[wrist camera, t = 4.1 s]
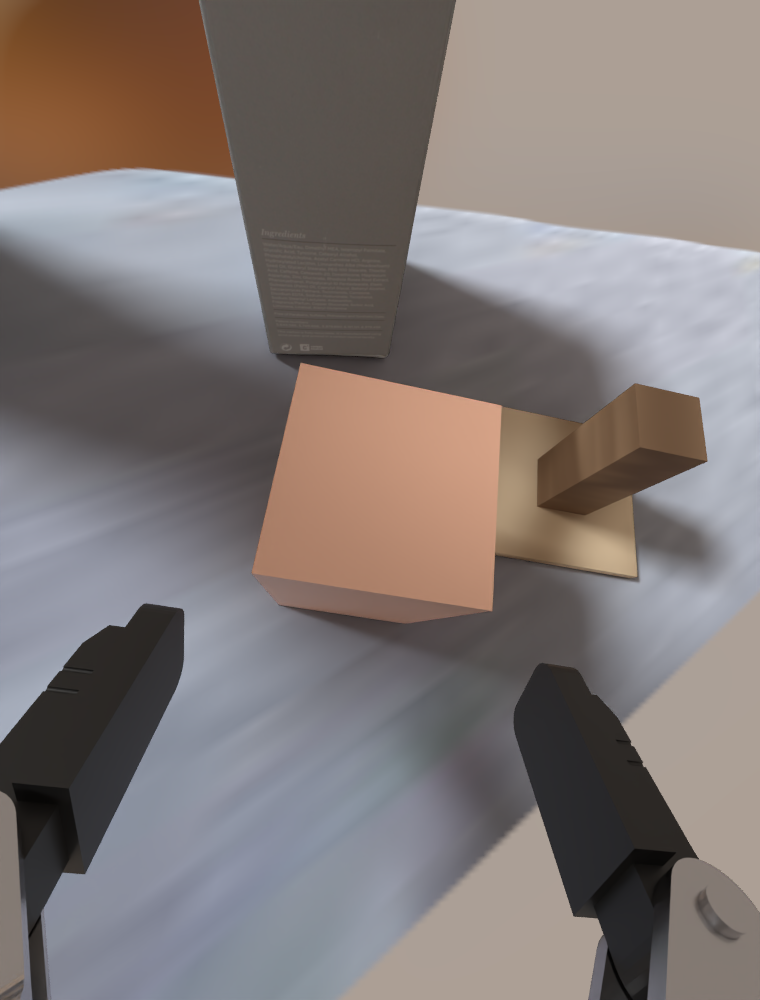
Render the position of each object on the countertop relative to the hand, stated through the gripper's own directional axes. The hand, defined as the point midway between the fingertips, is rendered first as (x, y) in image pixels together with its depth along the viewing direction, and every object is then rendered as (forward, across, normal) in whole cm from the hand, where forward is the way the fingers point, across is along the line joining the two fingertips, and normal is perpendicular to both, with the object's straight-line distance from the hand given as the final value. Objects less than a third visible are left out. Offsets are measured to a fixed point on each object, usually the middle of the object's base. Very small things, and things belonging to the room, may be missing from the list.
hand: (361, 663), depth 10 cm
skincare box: (+20, +4, -6) cm, 21 cm away
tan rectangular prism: (+10, 0, +3) cm, 10 cm away
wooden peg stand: (+13, -10, 0) cm, 16 cm away
